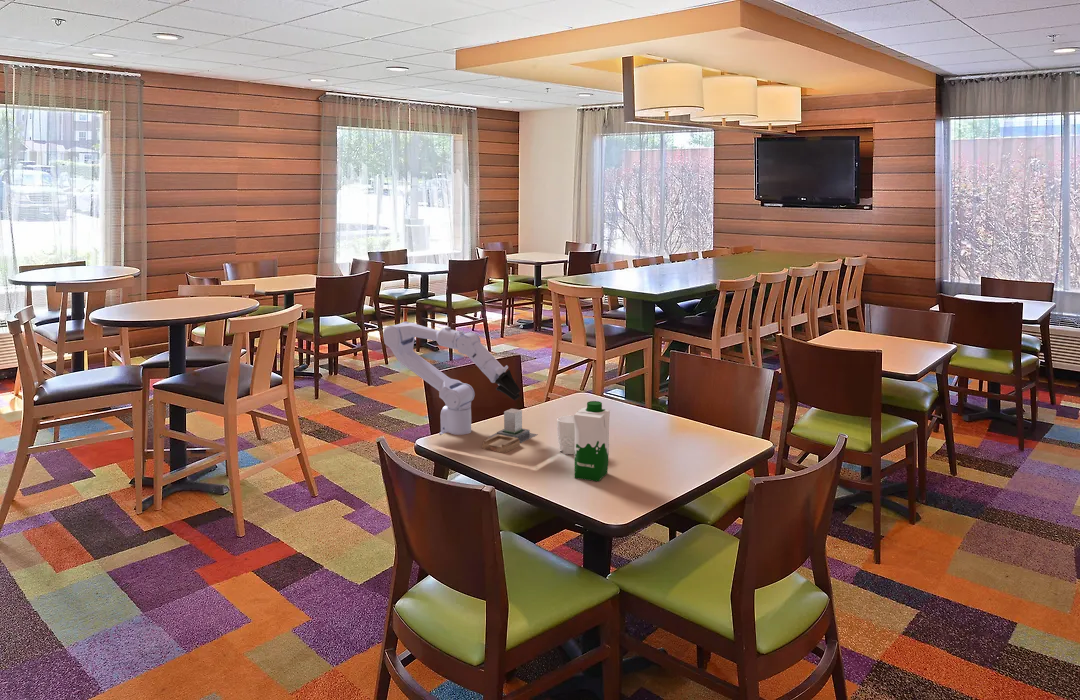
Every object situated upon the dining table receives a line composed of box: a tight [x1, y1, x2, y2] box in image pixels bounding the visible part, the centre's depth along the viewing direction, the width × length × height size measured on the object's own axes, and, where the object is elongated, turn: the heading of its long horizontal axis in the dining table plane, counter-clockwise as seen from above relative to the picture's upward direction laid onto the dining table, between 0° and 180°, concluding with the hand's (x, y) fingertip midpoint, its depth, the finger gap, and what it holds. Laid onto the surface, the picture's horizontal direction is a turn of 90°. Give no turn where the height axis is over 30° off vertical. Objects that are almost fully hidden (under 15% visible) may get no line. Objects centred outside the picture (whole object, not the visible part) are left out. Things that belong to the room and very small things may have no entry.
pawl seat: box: [482, 434, 521, 454], centre depth 235 cm, size 8×8×3 cm
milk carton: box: [573, 400, 611, 482], centre depth 212 cm, size 9×9×20 cm
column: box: [503, 408, 524, 435], centre depth 245 cm, size 4×4×8 cm
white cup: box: [556, 414, 575, 455], centre depth 233 cm, size 8×8×10 cm
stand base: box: [488, 428, 538, 444], centre depth 246 cm, size 12×10×2 cm
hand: (517, 395), depth 240 cm, fingers open, 7 cm apart
